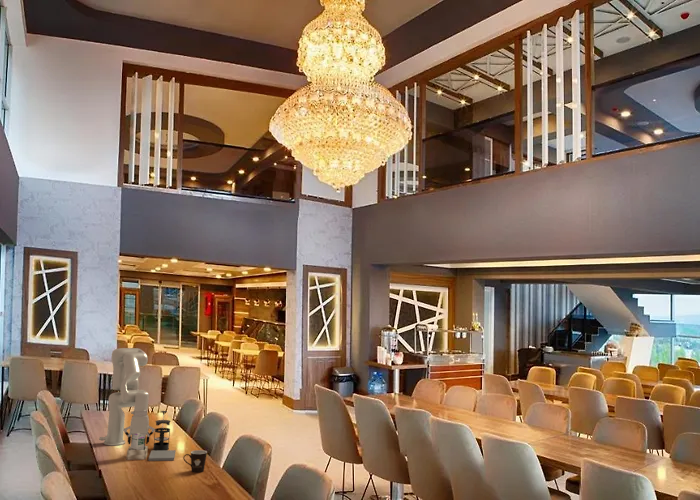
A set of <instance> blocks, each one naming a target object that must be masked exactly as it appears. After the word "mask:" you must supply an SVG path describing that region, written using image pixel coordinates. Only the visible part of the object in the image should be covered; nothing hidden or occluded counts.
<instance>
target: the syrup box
mask: <svg viewBox="0 0 700 500" xmlns="http://www.w3.org/2000/svg"><path fill="white" fill-rule="evenodd" d="M146 439H147V435H146V434H140V433H137V434H132V435H131V443H130V446H131V450H145V446H146Z"/></svg>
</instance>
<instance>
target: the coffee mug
mask: <svg viewBox="0 0 700 500" xmlns="http://www.w3.org/2000/svg"><path fill="white" fill-rule="evenodd" d="M186 456H189V458H190V461H191V462H190V463H189V462H188V461H187V460H186V459H185V457H186ZM207 456H208V451H207V450H204V449H203V450H202V449H199V450H197V449H196V450H192V451H190V454H189V453H186V454H184V455H183V461H184V462H185V463H186V464H187V465H189V466H190V468H191V472H192V473H194V474H200V473H204V471H205V466H206V461H207Z"/></svg>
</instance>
